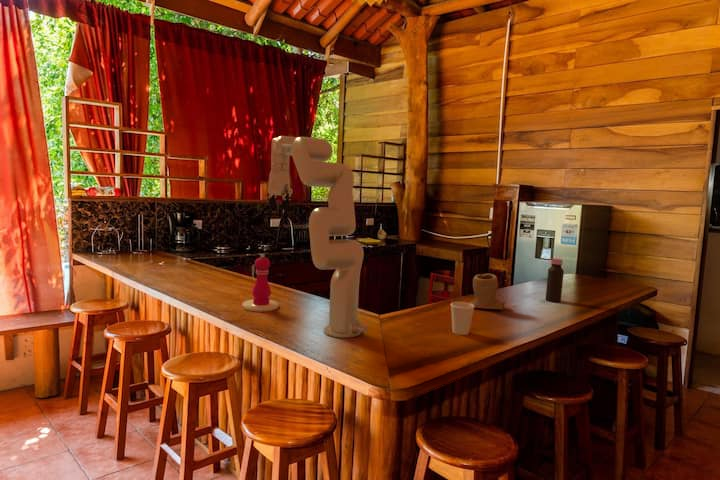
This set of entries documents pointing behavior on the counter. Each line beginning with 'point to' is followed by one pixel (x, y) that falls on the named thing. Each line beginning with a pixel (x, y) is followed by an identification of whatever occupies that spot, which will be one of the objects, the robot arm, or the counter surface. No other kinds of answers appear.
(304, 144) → the robot arm
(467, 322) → the dixie cup
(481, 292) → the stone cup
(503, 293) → the counter surface
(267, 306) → the disc
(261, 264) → the pepper mill
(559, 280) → the bottle
